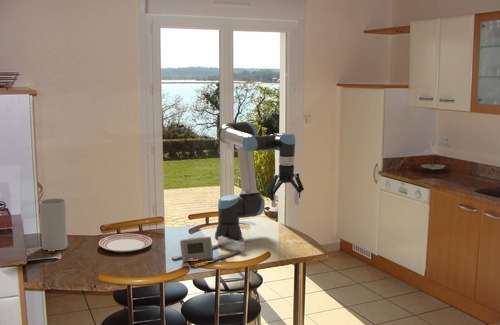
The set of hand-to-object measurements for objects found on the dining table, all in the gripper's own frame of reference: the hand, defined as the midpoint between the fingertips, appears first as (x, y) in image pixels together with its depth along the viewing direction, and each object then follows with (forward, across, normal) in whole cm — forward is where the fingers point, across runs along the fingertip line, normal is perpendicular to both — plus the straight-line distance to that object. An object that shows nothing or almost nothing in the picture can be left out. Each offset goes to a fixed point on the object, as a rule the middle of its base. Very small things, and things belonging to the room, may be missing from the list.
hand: (285, 205), depth 282 cm
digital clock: (+26, -44, +10) cm, 52 cm away
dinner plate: (+27, -70, +45) cm, 87 cm away
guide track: (+26, -36, +13) cm, 46 cm away
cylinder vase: (+27, -104, +57) cm, 122 cm away
